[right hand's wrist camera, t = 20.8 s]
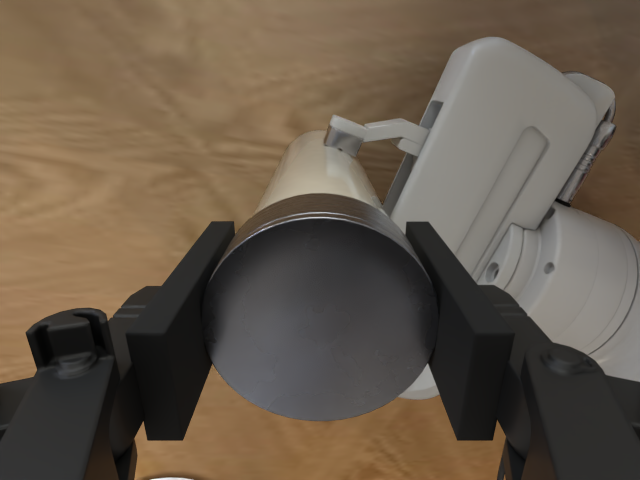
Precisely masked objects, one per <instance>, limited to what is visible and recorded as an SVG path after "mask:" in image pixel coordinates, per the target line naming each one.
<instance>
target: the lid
mask: <svg viewBox="0 0 640 480" xmlns="http://www.w3.org/2000/svg"><path fill="white" fill-rule="evenodd" d="M201 323H202V331H203V339H204V344H205V347H206V351H207V353H208V355H209V357H210V359H211V362H212V363H213V365H214V367H215V368H216V370H217V371H218V373H219V374H220V375H221V377H222V378H223V379H224V380H225V381H226V382H227V384H228V385H229V386H231V387H232V388H233V389H234V390H235V391H236V392H237V393H238V394H240V395H241V396H242V397H244V398H245V399H247V400H248V401H250V402H251V403H253V404H255V405H257V406H259V407H260V408H263V409H265V410H267V411H270V412H272V413H275V414H278V415H281V416H285V417H289V418H294V419H299V420H308V421H332V420H341V419H347V418H351V417H356V416H359V415H362V414H365V413H368V412H371V411H373V410H375V409H377V408H380V407H382V406H384V405H385V404H387V403H389V402H390V401H392V400H394V399H395V398H396V397H398V396H399V395H400V394H402V393H403V392H404V391H405V390H406V389H407V388H409V387H410V386H411V385H412V384H413V383H414V382H415V380H416V379H417V378H418V377H419V375H420V374H421V373H422V372H423V370H424V368H425V367H426V365H427V363H428V362H429V360H430V358H431V355H432V353H433V351H434V348H435V345H436V341H437V334H438V326H439V305H438V300H437V296H436V292H435V290H434V287H433V284H432V282H431V280H430V278H429V276H428V274H427V272H426V271H425V269H424V267H423V265H422V263H421V262H420V260H419V258H418V256H417V255H416V253H415V251H414V249H413V247H412V246H411V244H410V242H409V240H408V238H407V237H406V235H405V234H404V233H403V232H402V230H401V229H400V228H399V226H397V225H396V224H395V223H394V222H393V221H392V220H391V219H390V218H389V217H388V216H387V215H385V214H384V213H382V212H381V211H380V210H378V209H377V208H375V207H373V206H371V205H369V204H367V203H365V202H363V201H360V200H357V199H355V198H351V197H347V196H343V195H338V194H330V193H309V194H303V195H296V196H293V197H289V198H285V199H282V200H280V201H278V202H275V203H273V204H271V205H269V206H267V207H265V208H264V209H262V210H260V211H259V212H257V213H256V214H255V215H254V216H252V217H251V218H250V219H249V220H248V221H247V222H246V223H245V224H244V225H243V226H242V227H241V228H240V229H239V230H238V232H237V233H236V234H235V236H234V237H233V239H232V240H231V242H230V244H229V245H228V247H227V249H226V251H225V253H224V254H223V256H222V258H221V260H220V261H219V263H218V265H217V267H216V269H215V270H214V272H213V274H212V276H211V278H210V280H209V282H208V284H207V287H206V290H205V293H204V296H203V300H202V307H201Z"/></svg>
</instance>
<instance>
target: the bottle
mask: <svg viewBox="0 0 640 480" xmlns="http://www.w3.org/2000/svg"><path fill="white" fill-rule="evenodd" d="M326 132H327V131H325V130H315V131H310V132H307V133H304V134H302V135H300V136H299V137H297V138H296V139H295V140H294V141H292V142H291V144H290V145H289V146H288V147H287V149H286V151H285V153H284V155H283V157H282V159H281V161H280V162H279V164H278V166H277V168H276V170H275V172H274V174H273V176H272V178H271V180H270V182H269V184H268V186H267V188H266V190H265V192H264V194H263V196H262V198H261V200H260V202H259V204H258V206H257V208H256V210H255V212H254V214H253V216H254V215H255V214H256V213H257V212H259V211H260V210H262V209H264V208H265V207H267V206H269V205H271V204H273V203H275V202H278V201H280V200H282V199H285V198H289V197H293V196H296V195H303V194H309V193H330V194H338V195H343V196H347V197H351V198H355V199H357V200H360V201H363V202H365V203H367V204H369V205H371V206H373V207H375V208H377V209H378V210H380V211H381V212H382V213H384V214H385V215H387V213H386V211H385V209H384V208H383V206H382V204H381V202H380V200H379V198H378V196H377V194H376V192H375V190H374V188H373V186H372V184H371V182H370V180H369V178H368V176H367V174H366V172H365V170H364V168H363V166H362V164H361V162H360V160H359V158H358V156H357V155H356V157H354V156H352V155H349V154H347V153H345V152H343V151H342V149H341V148H338V149H335V148H331V147H329V146H327V145H325V144H323V140H324V138H325V135H326ZM387 216H388V215H387Z"/></svg>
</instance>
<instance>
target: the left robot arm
mask: <svg viewBox="0 0 640 480" xmlns="http://www.w3.org/2000/svg"><path fill="white" fill-rule="evenodd" d="M615 110H616V102H615V94H614V92H613V90H612V89H611V88H610V87H608V86H607V85H606V84H604V83H603V82H600V81H598V80H596V79H594V78H592V77H590V76H587V75H585V74H583V73H581V72H576V71H567V72H562V73H561V72H560V71H558V70H557V69H555V68H554V67H553V66H551V65H550V64H548V63H547V62H545V61H544V60H542V59H540V58H539V57H537V56H535V55H534V54H532V53H531V52H529V51H527V50H525V49H524V48H522V47H520V46H518V45H516V44H514V43H512V42H510V41H508V40H506V39H503V38H500V37H485V38H481V39H477V40H475V41H472V42H469V43H467V44H465V45H463V46H461V47H459V48H457V49H456V50H454V52H453V53H452V54H451V56H450V58H449V61H448V63H447V65H446V67H445V69H444V71H443V74H442V76H441V78H440V80H439V82H438V84H437V87H436V89H435V91H434V93H433V95H432V98H431V100H430V102H429V104H428V106H427V108H426V111H425V113H424V115H423V117H422V119H421V122H420V124H419V125H416V124H414V123H411V122H409V121H406V120H404V119H401V118H398V119H392V120H386V121H380V122H374V123H368V124H365V125H364V126H362V125H359V124H357V123H354V122H352V121H350V120H347V119H345V118H342V117H340V116H336V115H333V116H332V118H331V121H330V124H329V126H328V129H327V132H326V135H325V138H324V140H323V144H325V145H327V146H329V147H331V148H335V149H338V148H341V149H342V151H343V152H345V153H347V154H349V155H352V156H354V157H356V155H357V153H358V150H359V148H360V146H361V143H362V142H370V141H377V140H384V139H390V138H392V140H391V142H392V144H393V145H395V146H396V147H397V148H398V149H400V150H402V151H405V152H406V154H405V157H404V159H403V161H402V163H401V165H400V167H399V170H398V172H397V174H396V176H395V178H394V181H393V183H392V185H391V187H390V189H389V191H388V194H387V196H386V198H385V200H384V202H383V205H382V206H383V208H384V209H385V211H386V213H387V215H388V217H389V218H390V219H391V220H392V221H393V222H394V223H395V224H396V225H397V226H399V228H400V229H401V230H402V232H403V233H404V234H405V232H406V221H429V223H430V224H431V225H432V227H433V228H434V229H435V231H436V232H437V233H438V234H439V236H440V237H441V238H442V240H443V241H444V242H445V243H446V245H447V246H448V247H449V249H450V250H451V251H452V252H453V254H454V255H455V256H456V258H457V259H458V260H459V261H460V263H461V264H462V265H463V267H464V268H465V269H466V270H467V272H468V273H469V274H470V276H471V277H472V278H473V279H474V281H475V282H476V283H477V285H495V286H497V287H498V288H500V289H502V290H504V291H505V292H507V293H509V294H510V295H511V296H512V297H513V298H514V299H515V301H516V302H517V303H518V304H519V307H522V308H523V310H524V311H525V312H526V313H527V316H530V317H531V318H532V320H533V321H534V322H535V323H536V324H537V325H538V326H539V327H540V329H541V330H542V331H543V332H544V333H545V334H546V335H547V336H548V337H549V339H550V340H551V341H552V342H553V343H558V344H562V345H566V346H570V347H572V348H574V349H577V350H579V351H581V352H583V353H585V354H586V355H588V356H589V357H591V358H592V359H594V360H595V361H596V362H597V363H598V364H599V366H600V367H601V368H602V369H603V371H604V373H605V375H609V376H613V377H618V378H623V379H628V380H633V381H638V382H640V242H638V241H637V240H636V239H635V238H634V237H633V236H632V235H630V234H629V233H628V232H626V231H625V230H624V229H622V228H620V227H619V226H617V225H615V224H613V223H611V222H608V221H605V220H603V219H600V218H598V217H595V216H593V215H591V214H588V213H586V212H583V211H581V210H578V209H576V208H573V207H571V206H570V203H571V202H572V200H573V199H574V197H575V196H576V194H577V192H578V191H579V189H580V188H581V186H582V185H583V183H584V181H585V180H586V178H587V176H588V173H589V172H590V170H591V169H590V168H591V167H592V166H593V163H594V162H595V160H596V158H597V157H598V156H599V154H600V153H601V151H603V150H604V149H605V148H606V147H607V145H608V144H609V142H610V140H611V139H612V137H613V135H614V132H615V130H616V125H615V124H613V123H612V121H613V119H614V116H615ZM604 115H605V117H604ZM603 117H604V120H602V118H603ZM438 395H440V394H439V391H438V388H437V386H436V383H435V381H434V378H433V375H432V373H431V370H430V368H429V365H428V363H427V365H426V367H425V368H424V370H423V372H422V373H421V374H420V375H419V377H418V378H417V379H416V380H415V382H414V383H413V384H412V385H411V386H410V387H409V388H407V389H406V390H405V391H404V392H403V393H402V394H400V395H399V396H398V397H400V398H405V399H413V400H423V399H429V398H433V397H436V396H438ZM151 480H192V479H186V478H157V479H151Z"/></svg>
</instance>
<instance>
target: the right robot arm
mask: <svg viewBox="0 0 640 480" xmlns="http://www.w3.org/2000/svg"><path fill="white" fill-rule="evenodd" d="M405 235H406V237H407V238H408V240H409V242H410V244H411V246H412V247H413V249H414V251H415V253H416V255H417V256H418V258H419V260H420V262H421V263H422V265H423V267H424V269H425V271H426V272H427V274H428V276H429V278H430V280H431V282H432V284H433V287H434V290H435V292H436V296H437V300H438V305H439V326H438V334H437V341H436V345H435V348H434V351H433V353H432V355H431V358H430V360H429V362H428V365H429V368H430V370H431V373H432V375H433V378H434V381H435V383H436V386H437V388H438V391H439V394H440V396H441V399H442V402H443V404H444V407H445V409H446V412H447V415H448V417H449V420H450V422H451V425H452V428H453V430H454V433H455V436H456V438H457V440H493V436H494V432H495V427H496V422H497V420H498V422H499V423H500V425H501V427H502V429H503V431H504V433H505V435H506V440H505V444H504V448H503V453H502V457H501V462H500V466H499V471H498V476H497V480H503V479H504V475H505V476H506V480H640V382H638V381H633V380H628V379H623V378H618V377H613V376H609V375H605V373H604V371H603V369H602V368H601V367H600V366H599V364H598V363H597V362H596V361H595V360H594V359H592V358H591V357H589V356H588V355H586V354H585V353H583V352H581V351H579V350H577V349H574V348H572V347H570V346H566V345H562V344H558V343H553V342H552V341H551V340H550V339H549V337H548V336H547V335H546V334H545V333H544V332H543V331H542V330H541V329H540V327H539V326H538V325H537V324H536V323H535V322H534V321H533V320H532V318H531V317H530V316H527V313H526V312H525V311H524V310H523V308H522V307H519V304H518V303H517V302H516V301H515V299H514V298H513V297H512V296H511V295H510V294H509V293H507V292H505V291H504V290H502V289H500V288H498V287H497V286H495V285H477V283H476V282H475V281H474V279H473V278H472V277H471V276H470V274H469V273H468V272H467V270H466V269H465V268H464V267H463V265H462V264H461V263H460V261H459V260H458V259H457V258H456V256H455V255H454V254H453V252H452V251H451V250H450V249H449V247H448V246H447V245H446V243H445V242H444V241H443V240H442V238H441V237H440V236H439V234H438V233H437V232H436V231H435V229H434V228H433V227H432V225H431V224H430V223H429V221H406V232H405ZM234 236H235V229H234V221H212V222H211V223H210V224H209V226H208V227H207V228H206V230H205V231H204V232H203V233H202V235H201V236H200V237H199V239H198V240H197V241H196V242H195V244H194V245H193V246H192V248H191V249H190V250H189V251H188V253H187V254H186V255H185V257H184V258H183V259H182V260H181V262H180V263H179V264H178V266H177V267H176V268H175V269H174V271H173V272H172V273H171V275H170V276H169V277H168V278H167V280H166V281H165V282H164V284H163V285H162V286H146V287H144V288H143V289H141V290H139V291H138V292H136V293H134V294H132V295H131V296H130V297H129V298H128V299H127V300H126V302H125V303H124V304H123V305H122V306H121V308H119V309H118V311H117V312H116V313H115V314H114V315H113V318H110V320H109V321H108V320H107V316H106V314H105V313H104V312H103V311H101V310H99V309H94V308H76V309H71V310H67V311H62V312H59V313H56V314H53V315H51V316H48V317H46V318H44V319H42V320H41V321H39V322H37V323H35V324H34V325H33V326H32V327H31V328H30V329H29V330H28V331H27V332H26V336H27V339H28V342H29V345H30V348H31V351H32V355H33V358H34V361H35V364H36V367H37V372H36V374H35V376H34V377H31V378H27V379H22V380H17V381H12V382H7V383H2V384H0V480H134V477H135V470H136V462H137V449H136V444H135V440H134V438H135V436H136V434H137V432H138V430H139V428H140V426H141V424H142V422H143V421H144V426H145V430H146V435H147V440H183V439H184V436H185V434H186V431H187V428H188V426H189V423H190V421H191V418H192V415H193V413H194V410H195V407H196V405H197V402H198V400H199V397H200V394H201V392H202V389H203V387H204V384H205V381H206V379H207V376H208V373H209V371H210V368H211V366H212V362H211V359H210V357H209V355H208V353H207V351H206V347H205V344H204V339H203V331H202V323H201V307H202V300H203V296H204V293H205V290H206V287H207V284H208V282H209V280H210V278H211V276H212V274H213V272H214V270H215V269H216V267H217V265H218V263H219V261H220V260H221V258H222V256H223V254H224V253H225V251H226V249H227V247H228V245H229V244H230V242H231V240H232V239H233V237H234Z"/></svg>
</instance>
